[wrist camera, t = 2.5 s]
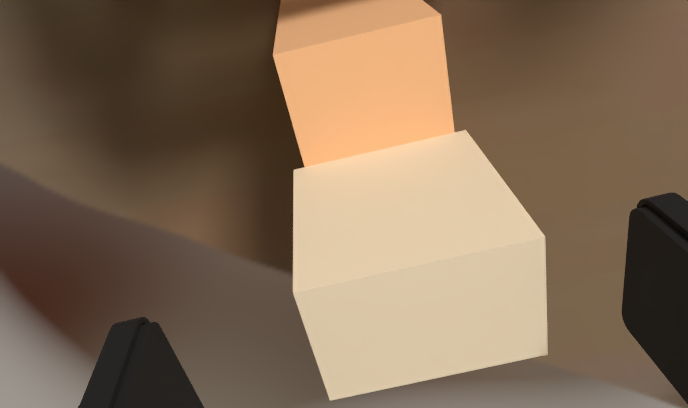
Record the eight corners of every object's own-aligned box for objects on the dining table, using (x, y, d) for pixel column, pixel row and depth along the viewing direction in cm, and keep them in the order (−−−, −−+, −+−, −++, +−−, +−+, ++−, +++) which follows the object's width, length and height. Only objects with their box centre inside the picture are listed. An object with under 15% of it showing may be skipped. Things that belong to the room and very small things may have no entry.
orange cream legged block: (411, 147, 27) (549, 443, 12) (324, 168, 27) (358, 482, 12) (380, -40, 22) (541, 73, 8) (276, -15, 23) (241, 143, 8)
